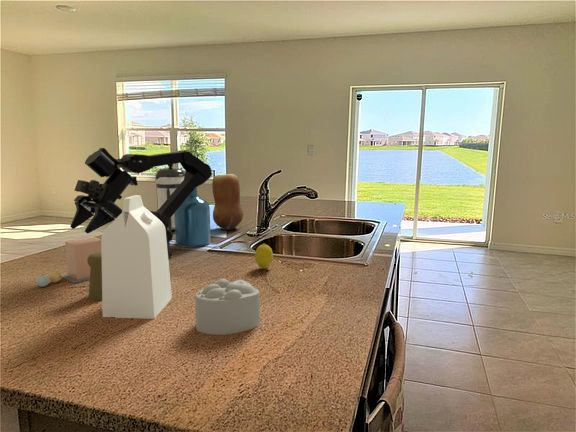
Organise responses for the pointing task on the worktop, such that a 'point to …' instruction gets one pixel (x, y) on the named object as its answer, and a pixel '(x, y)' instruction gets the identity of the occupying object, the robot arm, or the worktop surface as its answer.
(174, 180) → the coffee press
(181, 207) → the wine bottle
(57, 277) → the marble
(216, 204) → the butternut squash
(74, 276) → the pink rectangular block
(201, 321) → the lumpy-topped squat cylinder
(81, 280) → the coaster
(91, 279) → the cork
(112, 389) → the worktop surface
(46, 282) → the marble
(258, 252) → the lemon
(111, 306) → the milk
